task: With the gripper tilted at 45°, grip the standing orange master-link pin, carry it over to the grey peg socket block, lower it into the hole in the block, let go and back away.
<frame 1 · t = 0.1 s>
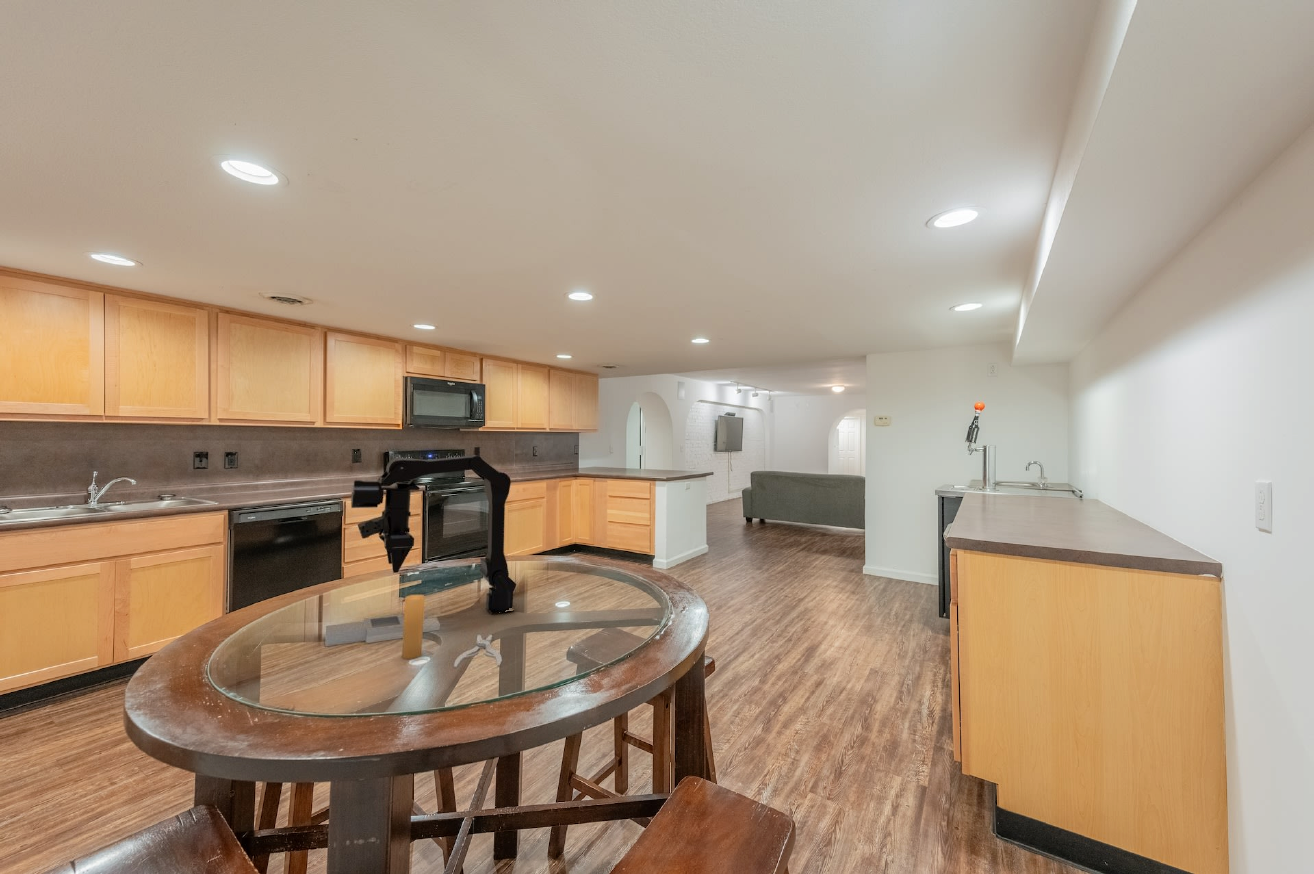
hand: (393, 567, 131), 15 cm above the table, tool pointing down, fingers open, 9 cm apart
grey peg socket block: (384, 634, 126), on the table
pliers: (480, 654, 119), on the table
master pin: (411, 655, 115), on the table
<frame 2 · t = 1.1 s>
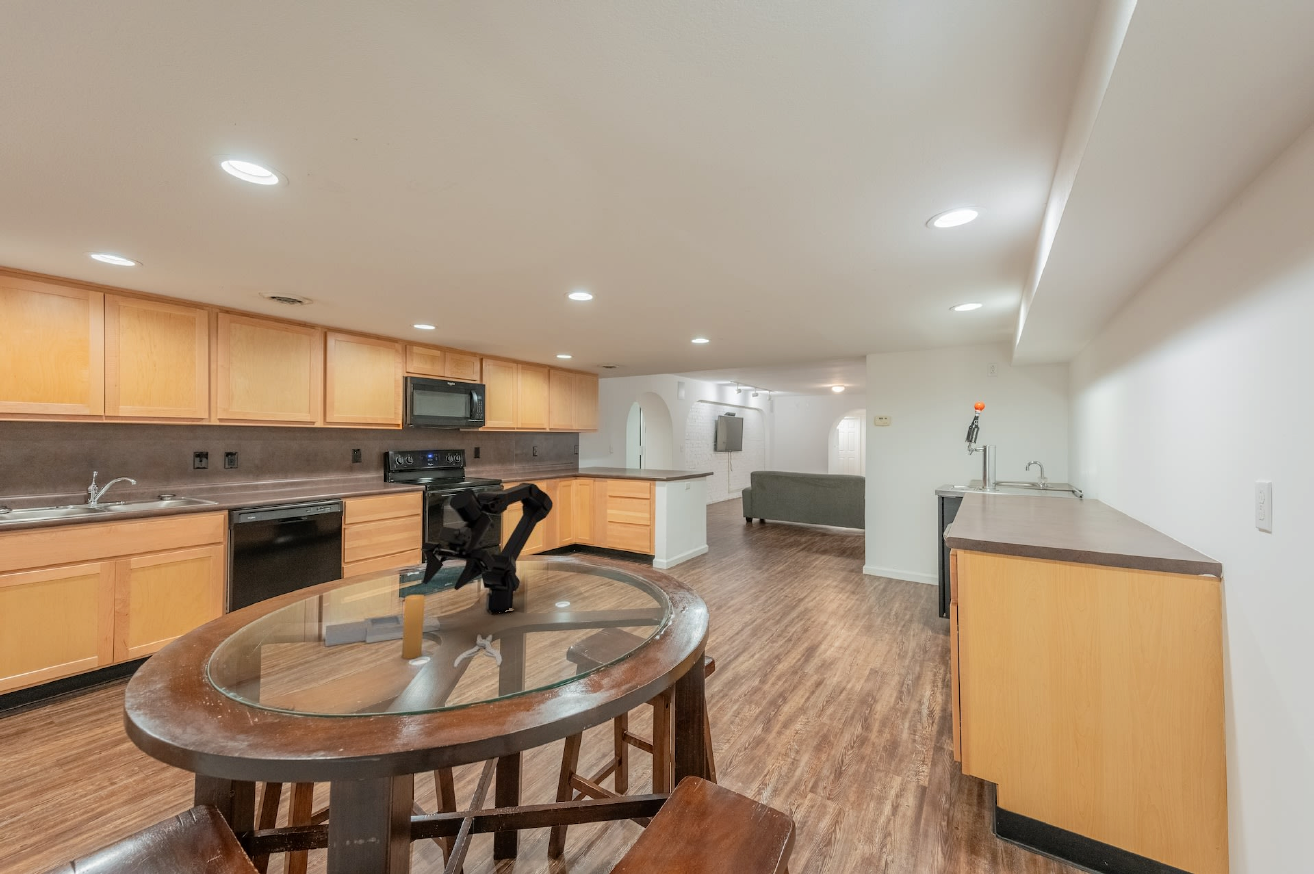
hand: (439, 586, 123), 13 cm above the table, tool tilted 45°, fingers open, 9 cm apart
nothing on the table moved.
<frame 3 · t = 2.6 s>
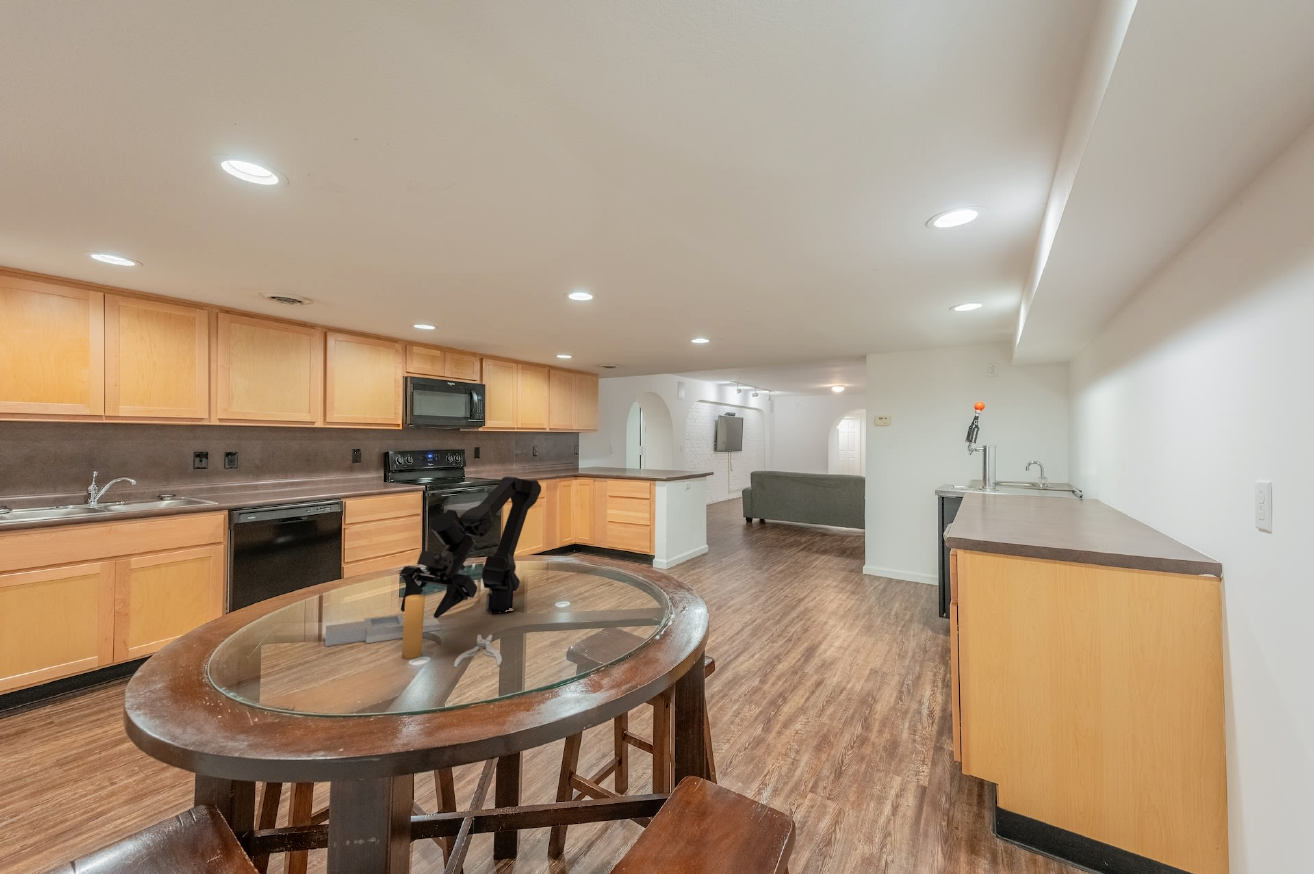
hand: (418, 614, 116), 9 cm above the table, tool tilted 45°, fingers open, 9 cm apart
nothing on the table moved.
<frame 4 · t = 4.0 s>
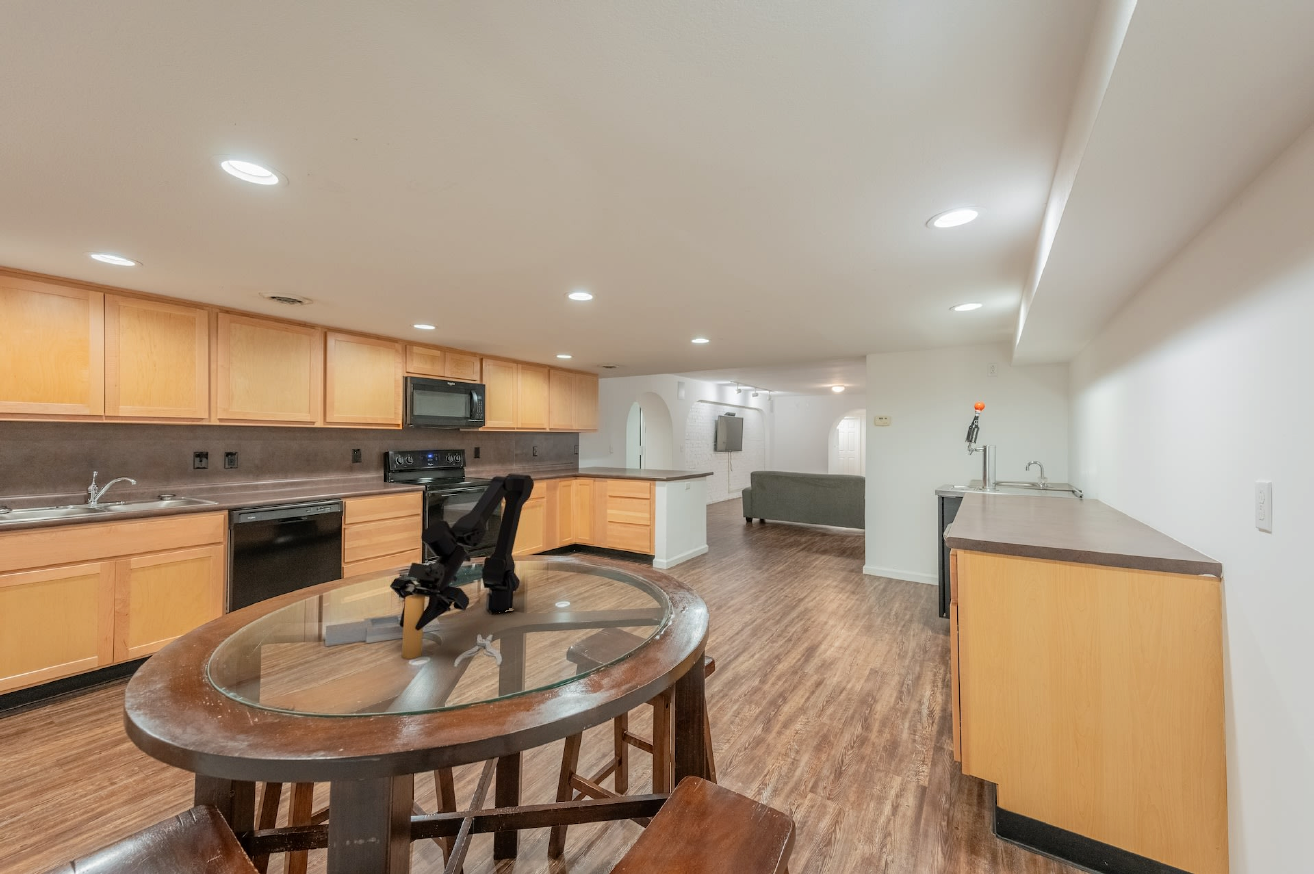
hand: (408, 627, 114), 7 cm above the table, tool tilted 45°, fingers closed on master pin, 4 cm apart
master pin: (411, 655, 115), on the table, touching gripper
everything else where it was.
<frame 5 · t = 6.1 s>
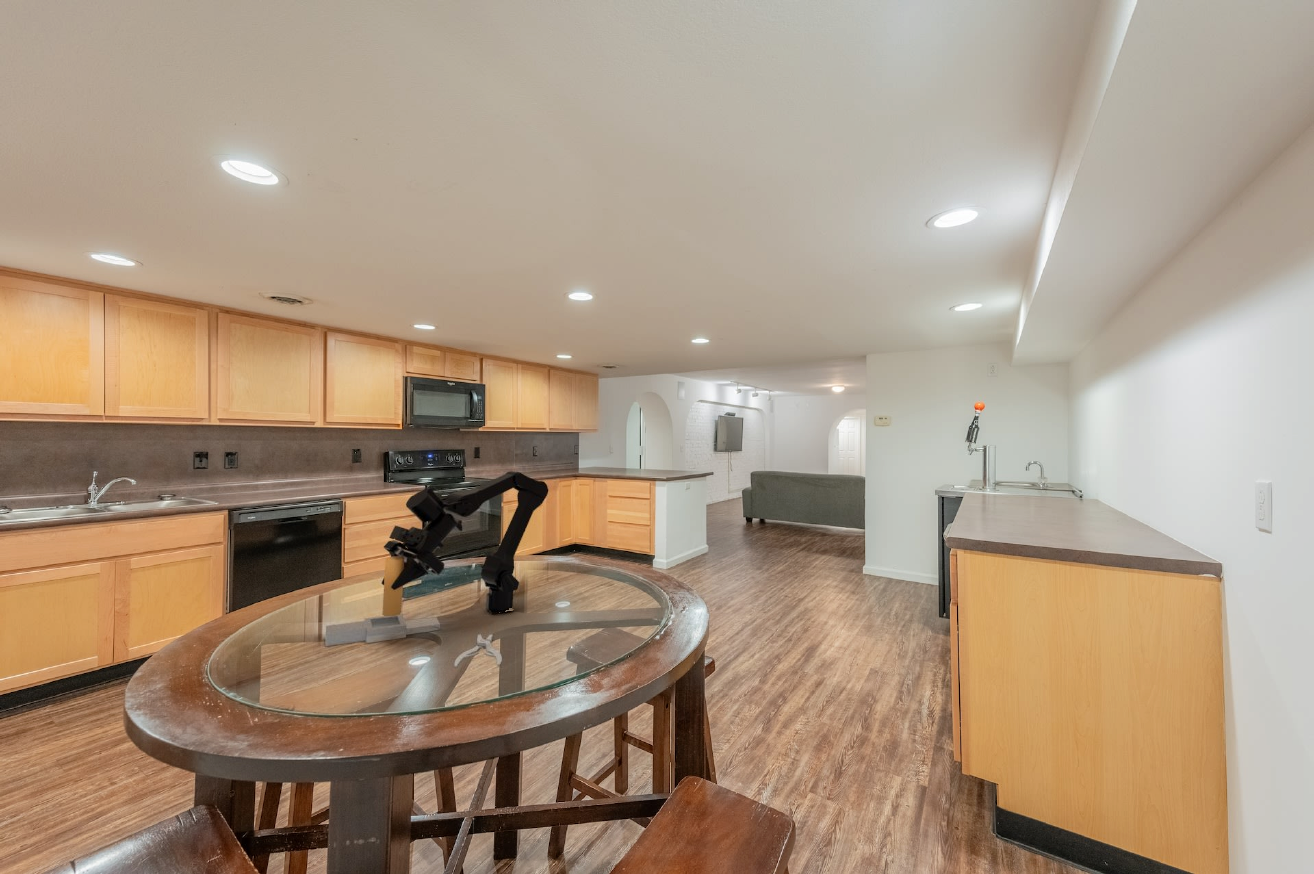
hand: (387, 586, 120), 13 cm above the table, tool tilted 45°, fingers closed on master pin, 4 cm apart
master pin: (391, 613, 121), point 7 cm above the table, touching gripper
everything else where it was.
when the fingers open (8 cm above the table, at t = 8.2 s): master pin drops 1 cm, resting in grey peg socket block.
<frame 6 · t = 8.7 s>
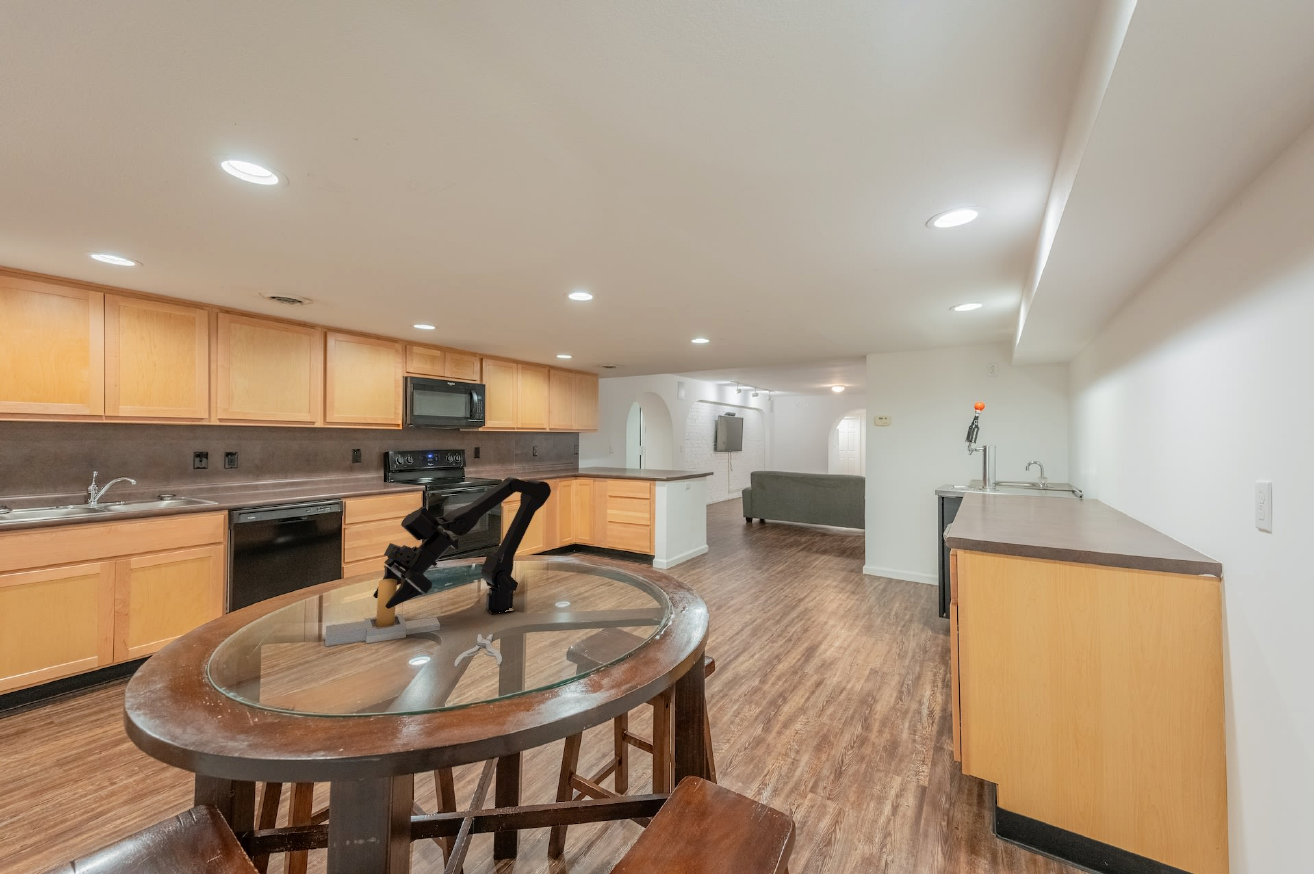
hand: (380, 602, 125), 8 cm above the table, tool tilted 45°, fingers open, 9 cm apart
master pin: (384, 634, 126), resting in grey peg socket block
everything else where it was.
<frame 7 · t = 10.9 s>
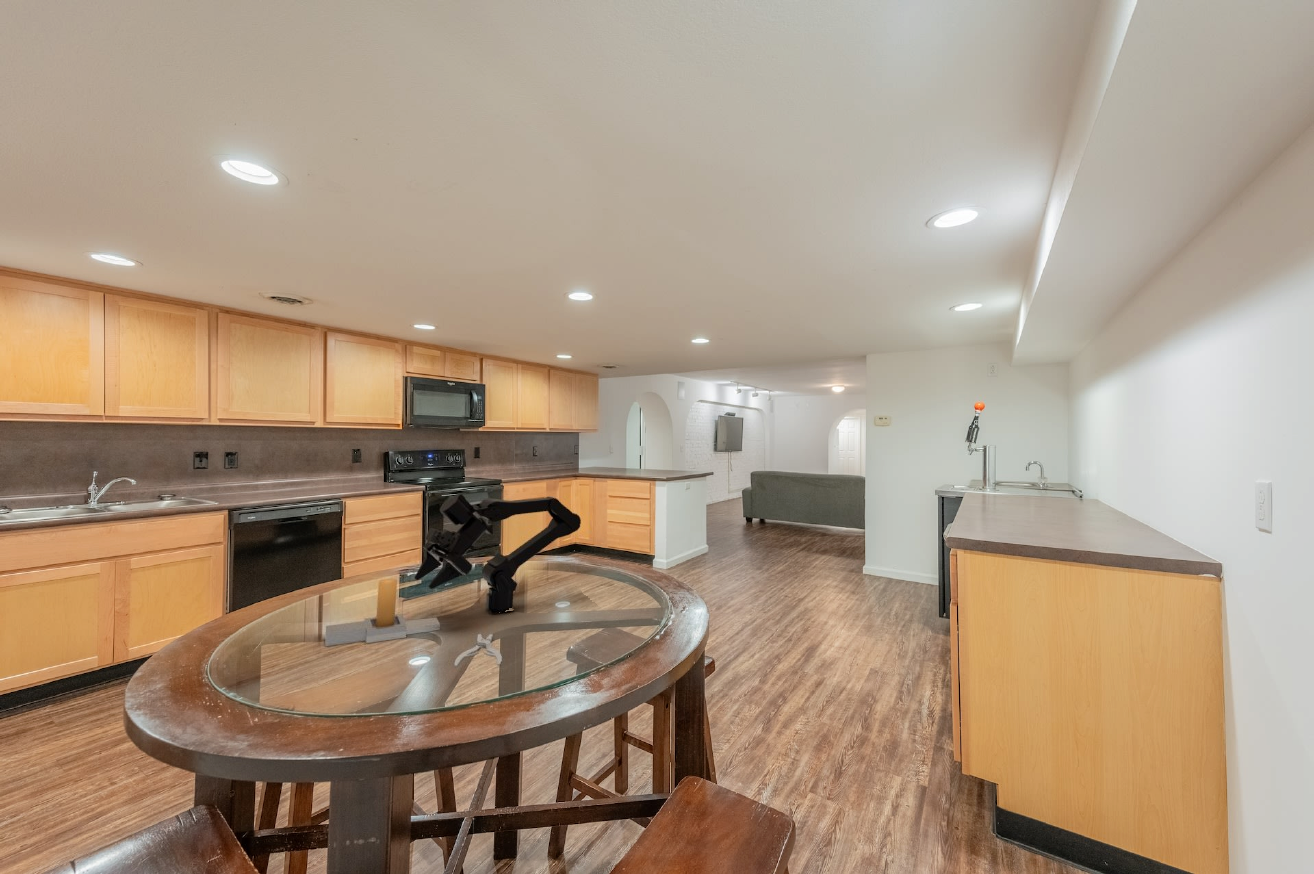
hand: (422, 583, 132), 11 cm above the table, tool tilted 45°, fingers open, 9 cm apart
nothing on the table moved.
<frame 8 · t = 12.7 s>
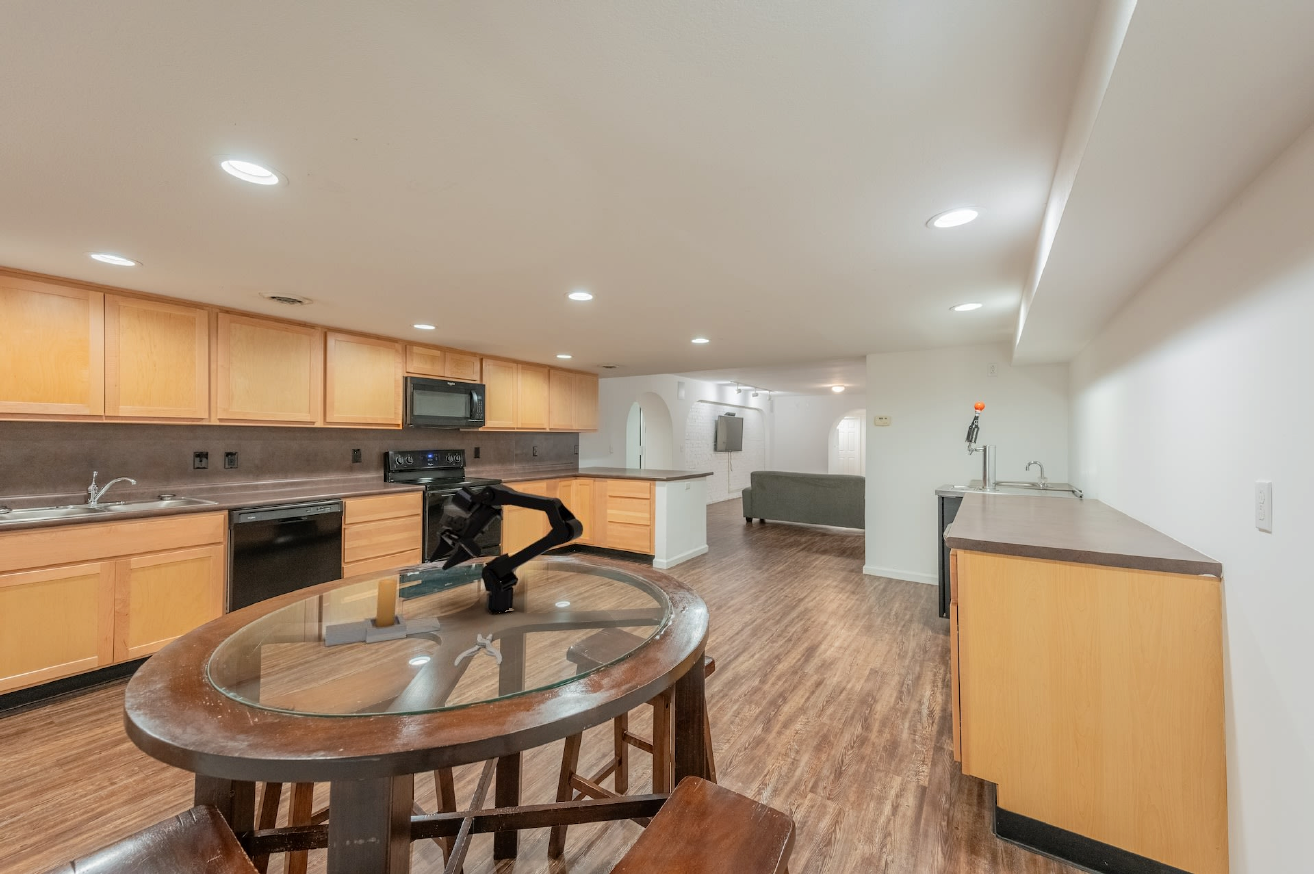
hand: (436, 565, 140), 14 cm above the table, tool tilted 45°, fingers open, 9 cm apart
nothing on the table moved.
at the end: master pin 0.0 cm off-centre on the grey peg socket block, point 0.0 cm above the grey peg socket block's base; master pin tilted 0°; the gripper is holding nothing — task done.
